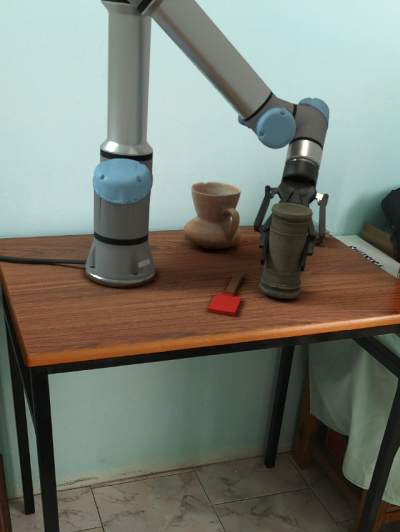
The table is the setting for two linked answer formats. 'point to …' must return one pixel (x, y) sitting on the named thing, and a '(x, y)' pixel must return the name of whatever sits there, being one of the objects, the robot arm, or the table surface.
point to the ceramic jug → (214, 216)
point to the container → (285, 250)
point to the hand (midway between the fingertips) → (282, 265)
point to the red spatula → (227, 298)
